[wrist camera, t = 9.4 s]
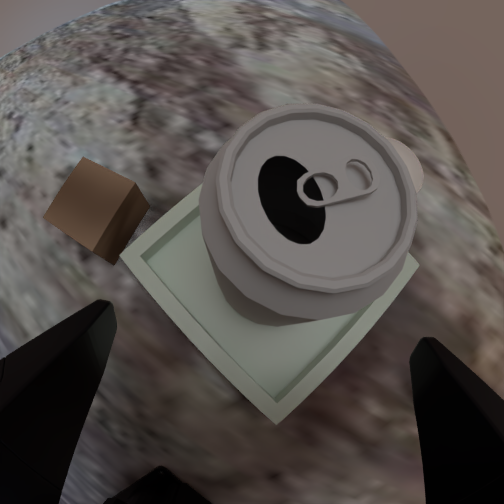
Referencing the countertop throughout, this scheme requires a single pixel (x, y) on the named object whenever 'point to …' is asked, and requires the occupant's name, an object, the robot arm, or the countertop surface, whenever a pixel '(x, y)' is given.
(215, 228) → the can
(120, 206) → the walnut block
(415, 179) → the off-white egg
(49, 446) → the robot arm
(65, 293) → the countertop surface
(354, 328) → the tray
